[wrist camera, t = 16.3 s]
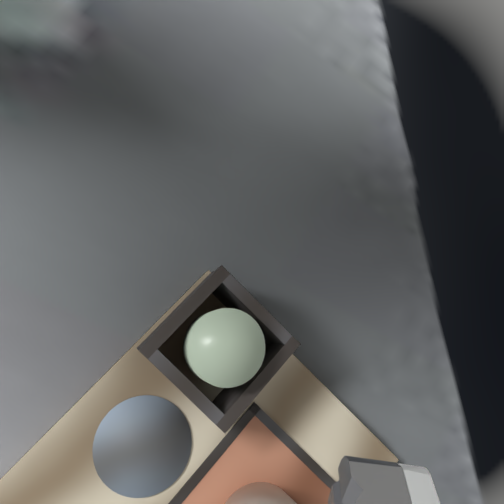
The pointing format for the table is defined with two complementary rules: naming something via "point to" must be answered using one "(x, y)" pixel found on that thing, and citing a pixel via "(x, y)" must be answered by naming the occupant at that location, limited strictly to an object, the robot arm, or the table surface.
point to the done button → (224, 347)
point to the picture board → (194, 424)
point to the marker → (260, 495)
